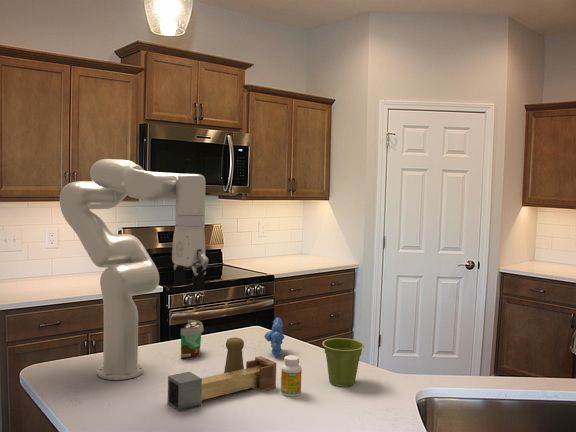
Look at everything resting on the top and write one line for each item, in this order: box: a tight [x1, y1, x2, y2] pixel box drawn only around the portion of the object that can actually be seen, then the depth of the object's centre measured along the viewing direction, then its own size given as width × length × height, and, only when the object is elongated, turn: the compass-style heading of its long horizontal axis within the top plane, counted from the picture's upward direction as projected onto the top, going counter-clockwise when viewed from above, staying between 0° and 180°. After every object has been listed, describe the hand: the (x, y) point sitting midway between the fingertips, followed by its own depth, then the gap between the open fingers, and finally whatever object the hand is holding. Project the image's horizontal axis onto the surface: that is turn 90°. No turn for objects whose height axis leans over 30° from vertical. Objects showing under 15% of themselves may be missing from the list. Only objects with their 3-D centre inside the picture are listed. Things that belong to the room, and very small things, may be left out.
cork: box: [223, 336, 245, 373], centre depth 163 cm, size 6×6×11 cm
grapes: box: [263, 316, 285, 357], centre depth 185 cm, size 12×7×12 cm, turn 176°
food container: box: [180, 319, 205, 360], centre depth 182 cm, size 12×6×10 cm, turn 179°
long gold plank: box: [201, 365, 263, 401], centre depth 149 cm, size 4×24×4 cm, turn 129°
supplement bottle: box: [280, 354, 303, 398], centre depth 151 cm, size 5×5×10 cm
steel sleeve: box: [167, 371, 203, 413], centre depth 141 cm, size 6×6×7 cm
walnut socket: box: [245, 355, 277, 392], centre depth 156 cm, size 7×5×7 cm
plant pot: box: [321, 337, 365, 388], centre depth 160 cm, size 12×12×11 cm
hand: (188, 287), depth 147 cm, fingers open, 9 cm apart
